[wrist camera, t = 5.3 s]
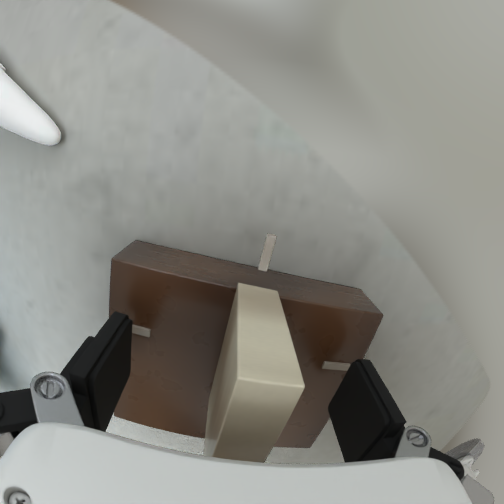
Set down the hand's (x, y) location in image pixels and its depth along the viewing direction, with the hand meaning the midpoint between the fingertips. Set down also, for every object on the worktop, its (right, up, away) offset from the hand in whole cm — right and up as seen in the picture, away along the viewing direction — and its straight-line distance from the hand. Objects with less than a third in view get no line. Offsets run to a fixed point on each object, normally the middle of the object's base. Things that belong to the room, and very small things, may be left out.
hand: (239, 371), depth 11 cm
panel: (0, +1, +4) cm, 4 cm away
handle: (0, 0, +1) cm, 1 cm away
